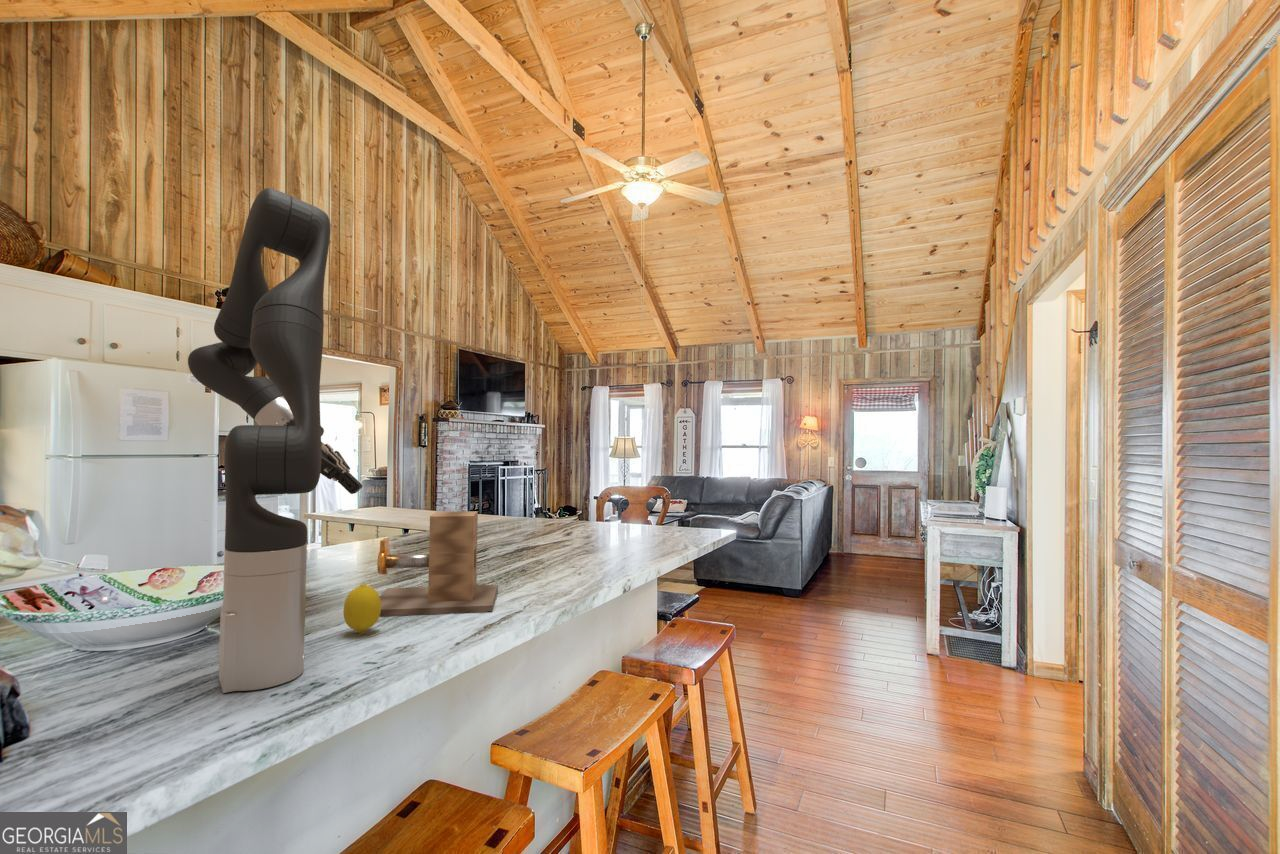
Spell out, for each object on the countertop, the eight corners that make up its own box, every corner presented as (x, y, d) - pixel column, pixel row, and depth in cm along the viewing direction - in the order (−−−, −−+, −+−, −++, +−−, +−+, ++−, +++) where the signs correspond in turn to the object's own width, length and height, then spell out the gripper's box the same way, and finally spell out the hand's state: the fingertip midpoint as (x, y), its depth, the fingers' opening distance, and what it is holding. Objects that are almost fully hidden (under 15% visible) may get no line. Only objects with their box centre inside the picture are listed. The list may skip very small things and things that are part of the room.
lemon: (370, 639, 92) (371, 588, 92) (335, 638, 92) (337, 587, 92) (386, 628, 98) (387, 580, 98) (353, 627, 98) (354, 579, 98)
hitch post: (365, 617, 104) (367, 520, 104) (387, 594, 119) (389, 510, 120) (492, 611, 107) (493, 518, 108) (497, 590, 123) (499, 508, 124)
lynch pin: (377, 577, 109) (377, 541, 110) (383, 571, 114) (384, 537, 114) (446, 575, 112) (447, 540, 112) (450, 569, 116) (450, 536, 116)
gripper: (290, 409, 104) (362, 478, 105) (318, 413, 117) (381, 474, 118) (257, 439, 102) (330, 508, 104) (288, 439, 116) (353, 501, 117)
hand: (357, 490), depth 111 cm, fingers closed
